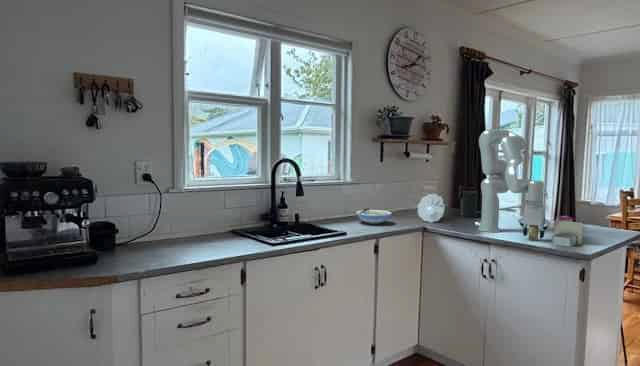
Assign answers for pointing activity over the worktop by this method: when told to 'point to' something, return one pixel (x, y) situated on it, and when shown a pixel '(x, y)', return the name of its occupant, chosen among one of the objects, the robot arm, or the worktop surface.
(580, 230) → the cream block
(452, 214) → the worktop surface
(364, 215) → the ramen bowl
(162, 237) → the worktop surface
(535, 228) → the tan cylinder
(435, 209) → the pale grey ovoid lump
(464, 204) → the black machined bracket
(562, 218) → the supplement box
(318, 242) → the worktop surface
